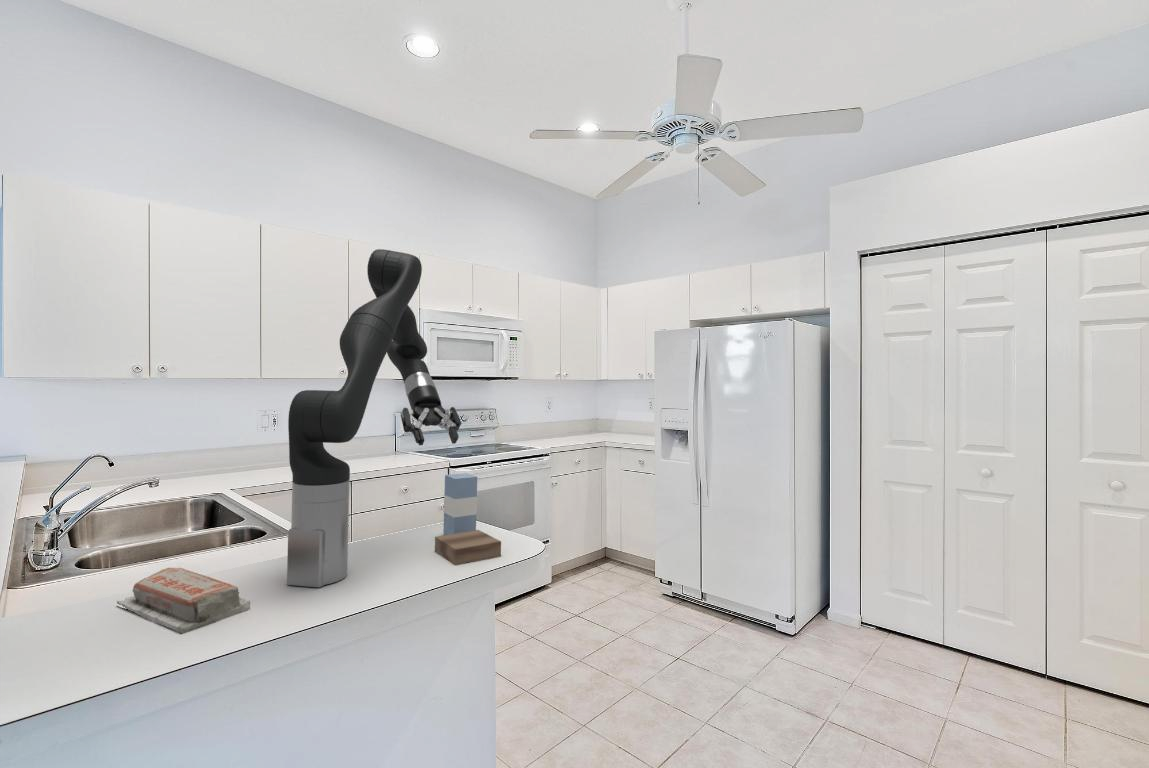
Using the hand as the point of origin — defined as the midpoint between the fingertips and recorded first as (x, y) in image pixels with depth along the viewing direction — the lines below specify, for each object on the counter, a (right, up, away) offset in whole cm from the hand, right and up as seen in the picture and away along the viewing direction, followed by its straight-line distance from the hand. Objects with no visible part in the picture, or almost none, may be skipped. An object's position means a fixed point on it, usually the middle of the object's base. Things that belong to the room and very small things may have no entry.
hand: (439, 442), depth 132 cm
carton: (+7, -21, -9) cm, 24 cm away
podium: (+11, -21, -21) cm, 31 cm away
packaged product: (-27, -21, -50) cm, 60 cm away
